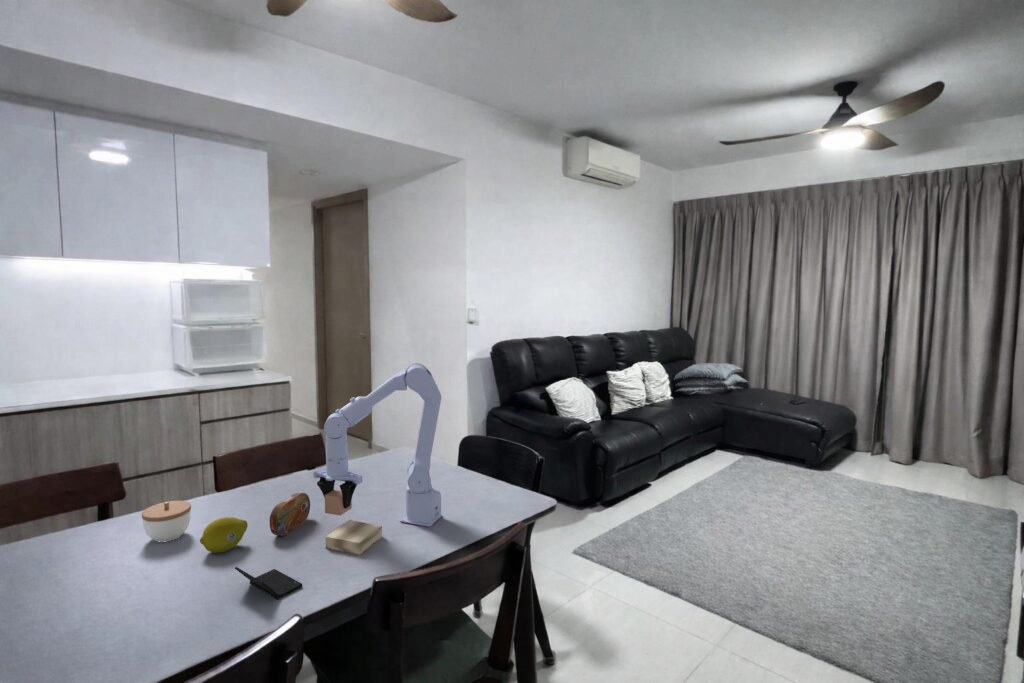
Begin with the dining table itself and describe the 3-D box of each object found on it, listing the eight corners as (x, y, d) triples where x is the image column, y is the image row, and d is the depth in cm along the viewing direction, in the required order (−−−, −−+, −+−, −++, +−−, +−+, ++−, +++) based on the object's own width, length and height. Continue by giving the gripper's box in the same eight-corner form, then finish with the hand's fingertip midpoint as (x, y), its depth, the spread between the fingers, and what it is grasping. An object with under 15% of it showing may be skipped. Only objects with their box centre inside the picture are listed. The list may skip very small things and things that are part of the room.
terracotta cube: (351, 508, 147) (351, 490, 147) (340, 515, 142) (340, 497, 142) (336, 505, 149) (336, 488, 148) (325, 512, 144) (324, 495, 144)
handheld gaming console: (309, 575, 118) (282, 553, 112) (291, 608, 113) (262, 587, 107) (273, 570, 123) (245, 548, 117) (255, 601, 118) (224, 581, 112)
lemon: (203, 562, 125) (201, 530, 125) (197, 550, 131) (195, 519, 130) (252, 548, 132) (251, 518, 132) (244, 537, 138) (243, 507, 137)
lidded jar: (201, 532, 140) (199, 498, 139) (160, 550, 131) (158, 514, 130) (175, 524, 145) (173, 491, 144) (133, 541, 135) (131, 506, 134)
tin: (278, 541, 136) (277, 510, 135) (267, 540, 137) (266, 509, 136) (311, 517, 151) (310, 488, 150) (301, 515, 151) (300, 487, 151)
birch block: (381, 536, 139) (381, 525, 139) (359, 554, 130) (359, 543, 130) (349, 530, 143) (349, 520, 142) (325, 547, 133) (325, 536, 133)
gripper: (305, 459, 143) (306, 507, 144) (350, 465, 138) (352, 515, 139) (322, 451, 149) (323, 497, 151) (366, 457, 145) (367, 504, 146)
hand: (338, 505), depth 145 cm, fingers closed on terracotta cube, 5 cm apart
